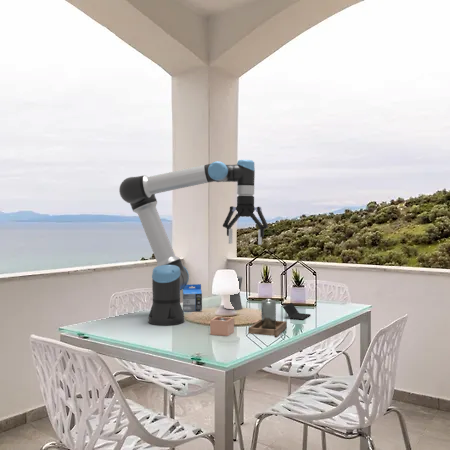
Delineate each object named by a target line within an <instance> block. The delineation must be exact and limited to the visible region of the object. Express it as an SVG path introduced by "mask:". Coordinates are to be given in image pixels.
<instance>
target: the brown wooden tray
mask: <svg viewBox="0 0 450 450" xmlns="http://www.w3.org/2000/svg"><path fill="white" fill-rule="evenodd" d="M287 323H288V322H287V321H285V320H284V321H282V320H276V329H275V330H274V329H262V319H258V321H256V322H254V323H253V324H252V325H251V326H249V327H248V330H247V331H248V334H249V335H252V334H253V335H263V336H264V335H265V336H272V337H273V336H274V338H278V337H279V336H280V335H281V334H282V333H283V332H284V331H285V330H286V329H287V325H288V324H287Z"/></svg>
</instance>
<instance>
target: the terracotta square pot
mask: <svg viewBox="0 0 450 450" xmlns="http://www.w3.org/2000/svg"><path fill="white" fill-rule="evenodd" d="M221 318H224V319H226V321H222V320H219V319H221ZM209 322H210V323H209V324H210V325H209V326H210V329H209V330H210V331H209V334H210V335H214V336H223V337H225V336H226V337H229V336H230V335H231V334H233V333H234V332H235V317H231V316H230V317H229V316H218V315H217V316H215V317H213V318H211V319H210V320H209Z"/></svg>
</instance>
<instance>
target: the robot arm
mask: <svg viewBox="0 0 450 450" xmlns="http://www.w3.org/2000/svg"><path fill="white" fill-rule="evenodd" d="M255 173H256V172H255V161H254V160H252V159H239V160H237V163H236V164H226V163H225V162H224V161H223V162H222V161H219V160H218V161H214V162H211V163H208V164H202V165H198V166H193V167H188V168H184V169H180V170H174V171H170V172H165V173H161V174H157V175H151V176H147V175H145V174H144V175H140V176H139V175H138V176H130V177H127V178H125V179H124V180H122V182H121V183H120V185H119V195H120V197H121V199H122V200H123V201H125V202H126V203H128V204H130V206H131V210H132V212H133V213H136V214H137V215H138V219H139V220H140V223H141V226H142V228H143V231H144V233H145V235H146V237H147V238H146V239H147V240H148V243H149V245H150V248H151V250H152V253H153V255H154V259H155V261H156V263H157V264H156V266H155V267H154V268H152V274H151V278H152V280H151V282H152V305H151V308H150V311H149V315H148V323H149V324H151V325H156V326H174V325H181V324H183V323H184V322H185V314H184V313H185V312H183V306H182V305H181V291H183V288H184V287H185V286H186V285H188V283H189V280H190V279H189V278H190V274H189V272H188V269H187V268H186V267H185V266H184V265H183V263H182V260H181V258H180V257H178V256H176V254H175V252H174V250H173V246H172V245H171V242H170V240H169V236H168V235H167V232H166V229H165V227H164V225H163V221H162V219H161V216H160V214H159V211H158V209H157V205H158V201H157V198H156V194H160V193H161V194H162V193H165V192H170V191H175V190H179V189H185V188H191V187H194V186H200V185H204V184H207V183H214V182H215V183H221V182H222V183H227V182H228V183H230V182H231V183H232V182H233V183H236V182H237V184H236V188H237V190H236V194H237V196H236V206H229V211H228V213H227V216H226V218H225V220H224V222H223V224H222V227H223V228H225V229H226V236H227V237H228V244H229V245H230V244H231V245H232V244H233V228H232V227H233V226H234V225H235V223H236V222H237V221H238V220H239V218H241V217H242V218H243V217H244V218H249V217H250V218H251V219H252V220H253V222H254V223H255V224H256V226H257V227H258V228H259V229H257V231H258V232H257V234H258V235H257V237H258V238H257V240H258V241H257V245H258V246H260V245H263V244H262V240H263V239H262V238H264V237H265V229H268V228H269V225H268V223H267V220H266V218H265V216H264V214H263V211H262V207H261V206H257V207H255V196H254V195H255V177H256V176H255ZM235 211H236V212H237V213H236V214H235V215H234V213H235ZM254 212H257V215H258V217H259V219H260V220H259V219H258V217H257V216H256V215H255V213H254ZM233 215H234V217H233ZM232 217H233V218H232ZM231 218H232V219H231Z"/></svg>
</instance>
